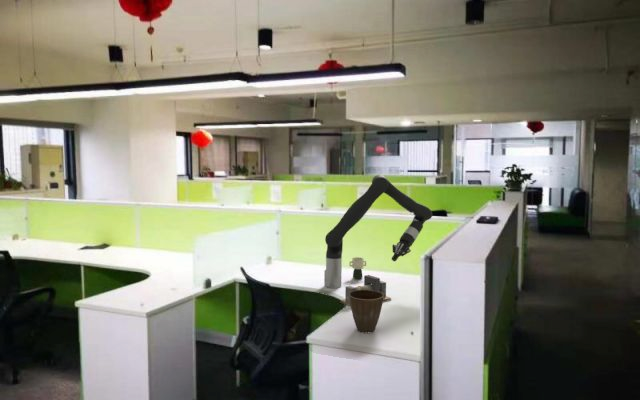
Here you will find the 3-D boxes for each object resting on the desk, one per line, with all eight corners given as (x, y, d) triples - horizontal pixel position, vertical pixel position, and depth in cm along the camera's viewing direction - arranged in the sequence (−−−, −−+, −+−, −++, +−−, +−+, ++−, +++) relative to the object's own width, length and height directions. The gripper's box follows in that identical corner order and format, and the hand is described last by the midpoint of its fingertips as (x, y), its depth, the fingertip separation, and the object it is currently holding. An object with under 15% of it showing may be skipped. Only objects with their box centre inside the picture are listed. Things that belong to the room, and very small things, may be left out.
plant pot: (380, 338, 199) (380, 300, 198) (345, 334, 203) (345, 297, 202) (385, 326, 214) (385, 291, 212) (352, 323, 218) (353, 288, 216)
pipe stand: (375, 295, 265) (376, 279, 264) (391, 300, 255) (391, 283, 255) (340, 302, 250) (340, 285, 250) (355, 307, 241) (355, 290, 240)
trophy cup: (364, 277, 307) (364, 257, 306) (367, 279, 300) (367, 259, 299) (348, 277, 305) (348, 257, 304) (350, 280, 298) (350, 259, 297)
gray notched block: (368, 291, 259) (368, 274, 259) (379, 294, 252) (379, 278, 252) (364, 291, 258) (364, 275, 257) (375, 295, 250) (375, 279, 250)
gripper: (397, 230, 273) (381, 254, 267) (415, 233, 262) (398, 258, 256) (404, 239, 276) (388, 262, 270) (421, 242, 266) (405, 266, 259)
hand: (393, 260), depth 263 cm, fingers closed
